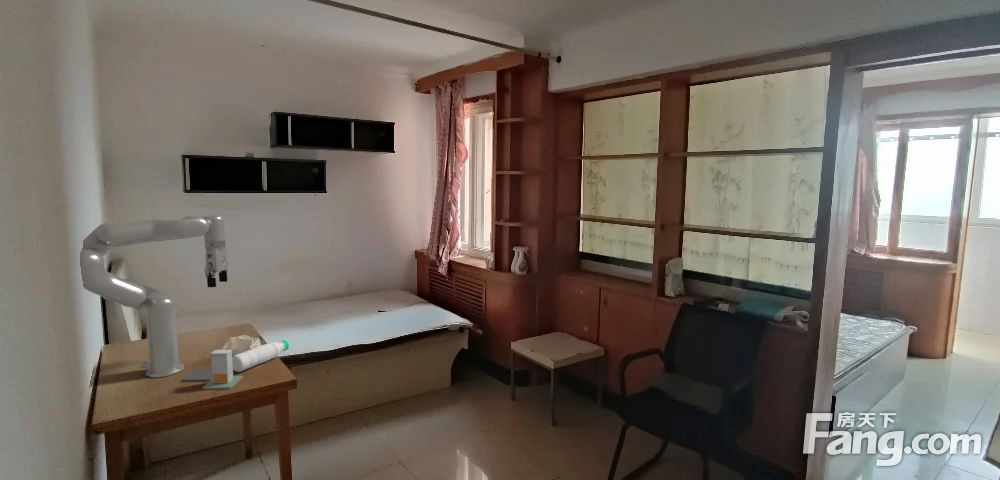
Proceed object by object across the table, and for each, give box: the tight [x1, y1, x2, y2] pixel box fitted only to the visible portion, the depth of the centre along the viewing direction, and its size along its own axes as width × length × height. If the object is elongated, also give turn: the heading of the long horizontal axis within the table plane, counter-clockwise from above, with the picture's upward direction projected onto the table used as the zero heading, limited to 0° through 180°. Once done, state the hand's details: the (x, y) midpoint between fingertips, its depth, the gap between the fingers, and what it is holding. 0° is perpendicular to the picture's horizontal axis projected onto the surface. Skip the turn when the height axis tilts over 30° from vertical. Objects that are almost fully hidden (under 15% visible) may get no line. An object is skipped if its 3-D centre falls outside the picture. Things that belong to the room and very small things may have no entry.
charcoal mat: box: [181, 368, 212, 382], centre depth 190 cm, size 10×10×1 cm
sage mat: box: [202, 375, 244, 390], centre depth 184 cm, size 10×10×1 cm
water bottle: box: [232, 339, 290, 373], centre depth 204 cm, size 7×7×25 cm
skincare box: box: [210, 349, 234, 383], centre depth 183 cm, size 6×4×12 cm
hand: (217, 284), depth 205 cm, fingers open, 9 cm apart
